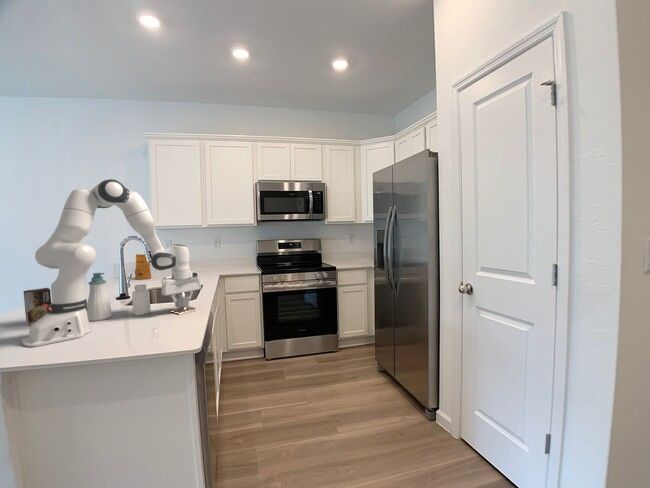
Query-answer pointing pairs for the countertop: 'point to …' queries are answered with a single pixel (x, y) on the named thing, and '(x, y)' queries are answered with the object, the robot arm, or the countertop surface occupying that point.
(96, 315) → the soap bottle
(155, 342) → the countertop surface
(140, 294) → the pill bottle
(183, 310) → the shaft block
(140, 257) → the coffee package
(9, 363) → the countertop surface
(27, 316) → the coffee box
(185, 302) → the hub
